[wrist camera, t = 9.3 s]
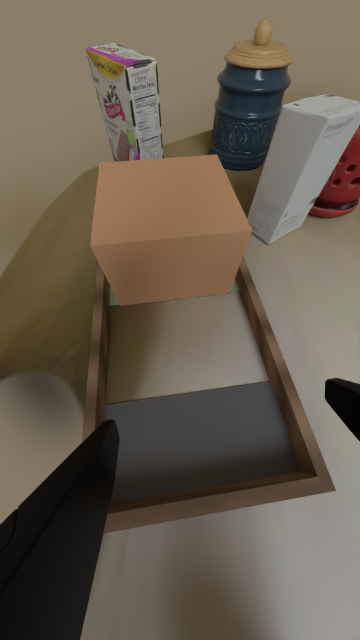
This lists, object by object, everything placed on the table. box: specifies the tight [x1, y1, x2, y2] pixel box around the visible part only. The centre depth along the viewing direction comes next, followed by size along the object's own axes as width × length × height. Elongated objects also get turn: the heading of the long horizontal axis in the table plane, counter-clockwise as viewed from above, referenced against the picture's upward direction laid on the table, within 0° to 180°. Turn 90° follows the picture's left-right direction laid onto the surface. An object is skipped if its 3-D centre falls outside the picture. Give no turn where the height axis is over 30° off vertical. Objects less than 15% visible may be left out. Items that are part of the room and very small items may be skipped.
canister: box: [210, 19, 293, 170], centre depth 38 cm, size 13×13×18 cm
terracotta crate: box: [90, 154, 252, 306], centre depth 26 cm, size 15×15×10 cm
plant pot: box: [309, 125, 360, 217], centre depth 32 cm, size 13×13×12 cm
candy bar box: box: [85, 43, 163, 162], centre depth 33 cm, size 11×5×16 cm, turn 38°
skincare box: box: [247, 94, 360, 245], centre depth 27 cm, size 8×6×15 cm
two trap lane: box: [82, 257, 336, 533], centre depth 26 cm, size 42×20×3 cm, turn 8°
